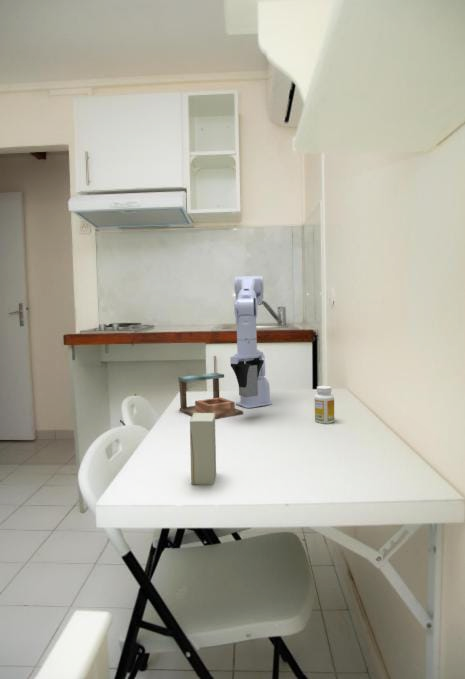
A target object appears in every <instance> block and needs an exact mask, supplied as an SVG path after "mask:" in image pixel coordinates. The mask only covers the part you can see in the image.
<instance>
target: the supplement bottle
mask: <svg viewBox="0 0 465 679" xmlns="http://www.w3.org/2000/svg"><path fill="white" fill-rule="evenodd" d="M316 392H317V394H315V395H314V422H316V423H318V424H332V423H333V422H335V396H334V395H333V394H332V386H328V385H320V386H316Z"/></svg>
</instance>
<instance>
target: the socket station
mask: <svg viewBox="0 0 465 679" xmlns="http://www.w3.org/2000/svg"><path fill="white" fill-rule="evenodd" d="M223 378H225V374H224V373H219V372H213V373H211V372H210V373H203V374H194V375H185V376H178V381H179V400H180V407H179V412H180V413H183V414H186V415H188V416H189V417H192V415H193V414H194V413H215V420H216V419H217V420H218V419H223V418H227V417H228V418H230V417H235V416H240V415H244V412H243V410H241V409H238V408H236V402H235V401H232V400H229V399H226V398H223V397H221V396H220V379H223ZM206 380H212V392H213V393H212V394H213V396H212V397H213V398H207V399H201V400H195V401H194V405H190V406H188V405H187V404H188V402H187V383H189V382H199V381H206Z"/></svg>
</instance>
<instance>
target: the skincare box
mask: <svg viewBox="0 0 465 679" xmlns="http://www.w3.org/2000/svg"><path fill="white" fill-rule="evenodd" d="M189 436H190V437H189V440H190V442H189V443H190V444H189V445H190V478H191V479H190V485H214V484H215V481H216V475H217V451H216V450H217V449H216V448H217V446H216V445H217V443H216V442H217V441H216V419H215V413H194V414H193V415H192V416H190V420H189Z"/></svg>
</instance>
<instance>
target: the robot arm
mask: <svg viewBox="0 0 465 679" xmlns="http://www.w3.org/2000/svg"><path fill="white" fill-rule="evenodd" d="M233 284H234V285H233V286H234V293H235V300H234V303H233V304H234V305H233V306H234V316H235V317H234V318H235V325H236V345H237V346H236V348H237V349H236V350H237V351H236V352H237V353H235V354H234V355H233V356H230V361H229V362H230V367H231V369H232V370H233V372H234V374H235V378H236V380H237V384H238V388H239V387H244V388H245V387H246V386H247V374H248V370H249V367H250V364H254V365H257V382H258V396H252V397H243V396H240V402H235V405H237V406H240V407H244V408H246V409H250V408H252V409H253V408H258V407H262V406H269V405H272V402H271V397H270V395H271V394H270V393H271V391H270V390H271V389H270V382H269V380H268V379H267V377H266V360H265V359H266V358H265V353H264V352H263V351H261V350H259V349H258V344H257V343H258V342H257V341H258V339H257V317H258V305H259V304H261V303H263V301H264V300H263V299H264V292H265V290H264V289H265V288H264V277H263V275H248V276H237V275H236V276H235V277H234V283H233Z"/></svg>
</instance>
